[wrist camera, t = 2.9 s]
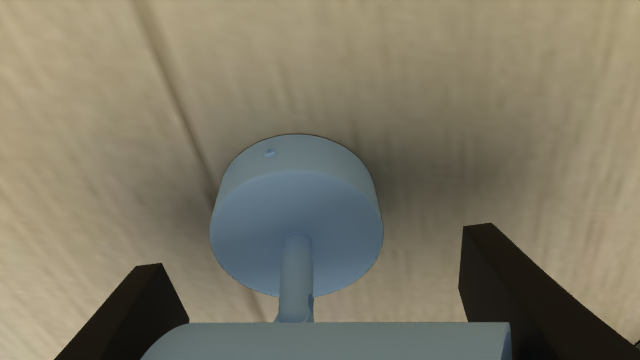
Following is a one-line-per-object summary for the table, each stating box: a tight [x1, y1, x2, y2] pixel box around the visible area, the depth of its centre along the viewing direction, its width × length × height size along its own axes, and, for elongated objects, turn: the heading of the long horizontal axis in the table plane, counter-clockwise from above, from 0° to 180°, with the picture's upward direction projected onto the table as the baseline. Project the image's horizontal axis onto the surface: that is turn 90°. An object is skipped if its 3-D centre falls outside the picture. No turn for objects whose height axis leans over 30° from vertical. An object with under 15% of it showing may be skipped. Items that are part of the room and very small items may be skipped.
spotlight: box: [140, 134, 512, 360], centre depth 8 cm, size 5×10×7 cm
